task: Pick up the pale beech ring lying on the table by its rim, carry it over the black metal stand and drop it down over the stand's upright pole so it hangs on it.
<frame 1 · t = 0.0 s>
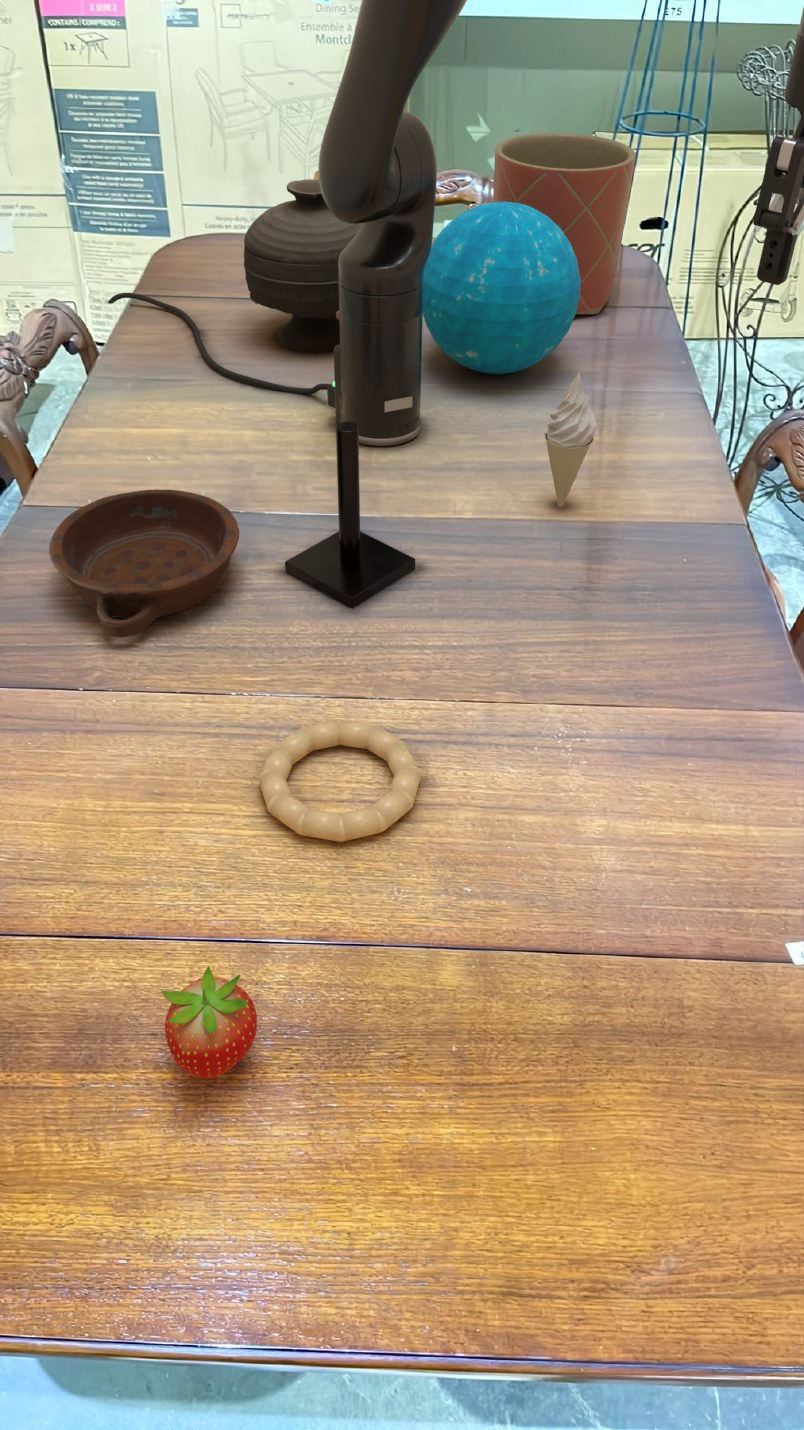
hand: (795, 267, 86), 29 cm above the table, tool pointing down, fingers open, 8 cm apart
ring: (340, 777, 82), point 1 cm above the table
planter: (550, 299, 160), on the table
decorative sphere: (493, 368, 141), on the table
ice cream cone: (560, 507, 115), on the table
post: (350, 570, 105), on the table
pot: (315, 338, 148), on the table
dish: (152, 580, 104), on the table
fruit: (217, 1067, 65), on the table
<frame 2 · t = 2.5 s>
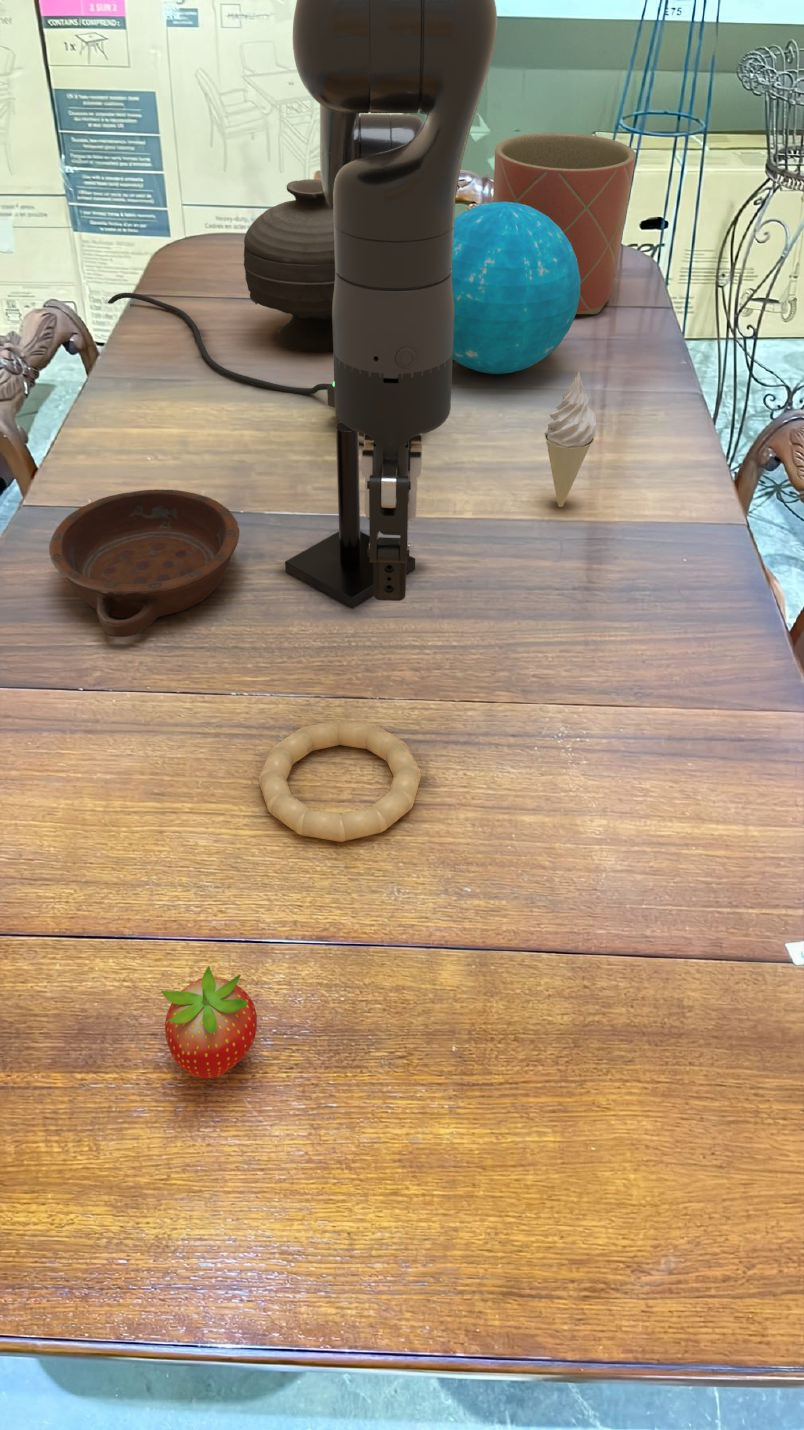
hand: (391, 564, 78), 16 cm above the table, tool pointing down, fingers open, 8 cm apart
nothing on the table moved.
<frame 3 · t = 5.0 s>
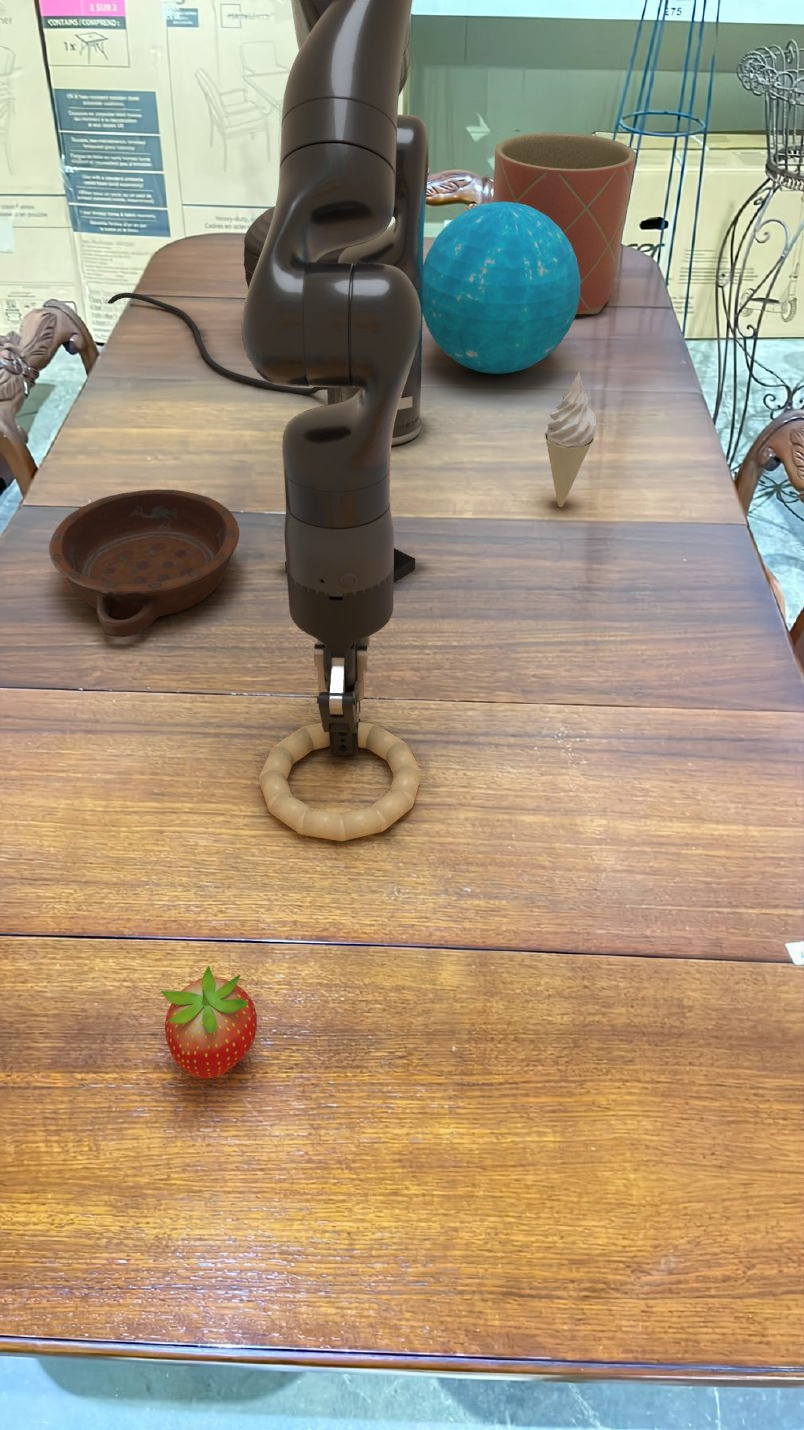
hand: (345, 739, 87), 0 cm above the table, tool pointing down, fingers closed on ring, 2 cm apart
ring: (340, 777, 83), point 1 cm above the table, touching gripper
everything else where it was.
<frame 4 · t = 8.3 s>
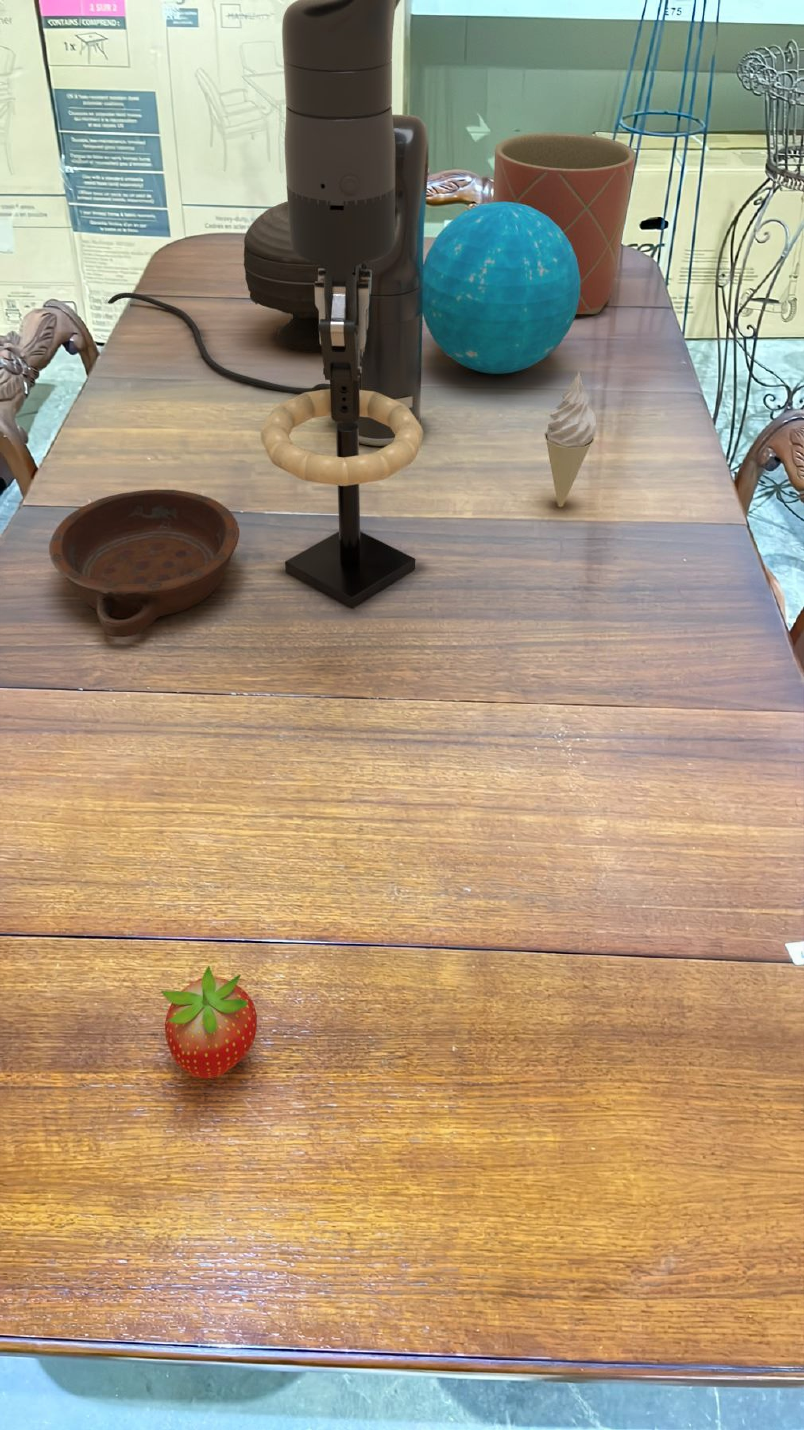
hand: (347, 410, 86), 20 cm above the table, tool pointing down, fingers closed on ring
ring: (342, 434, 82), point 21 cm above the table, touching gripper
everything else where it was.
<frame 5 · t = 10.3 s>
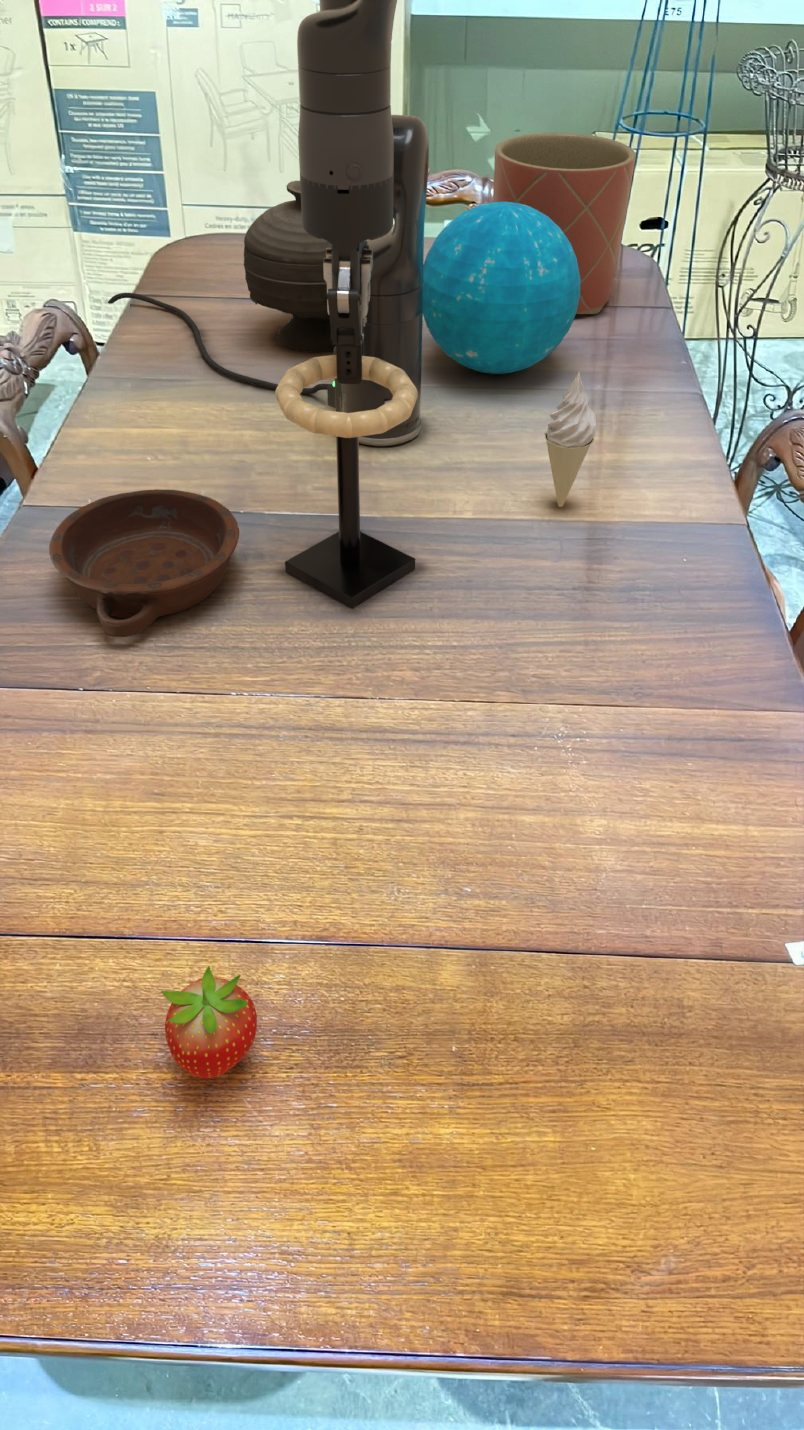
hand: (350, 374, 97), 18 cm above the table, tool pointing down, fingers closed on ring
ring: (346, 394, 93), point 18 cm above the table, touching gripper
everything else where it was.
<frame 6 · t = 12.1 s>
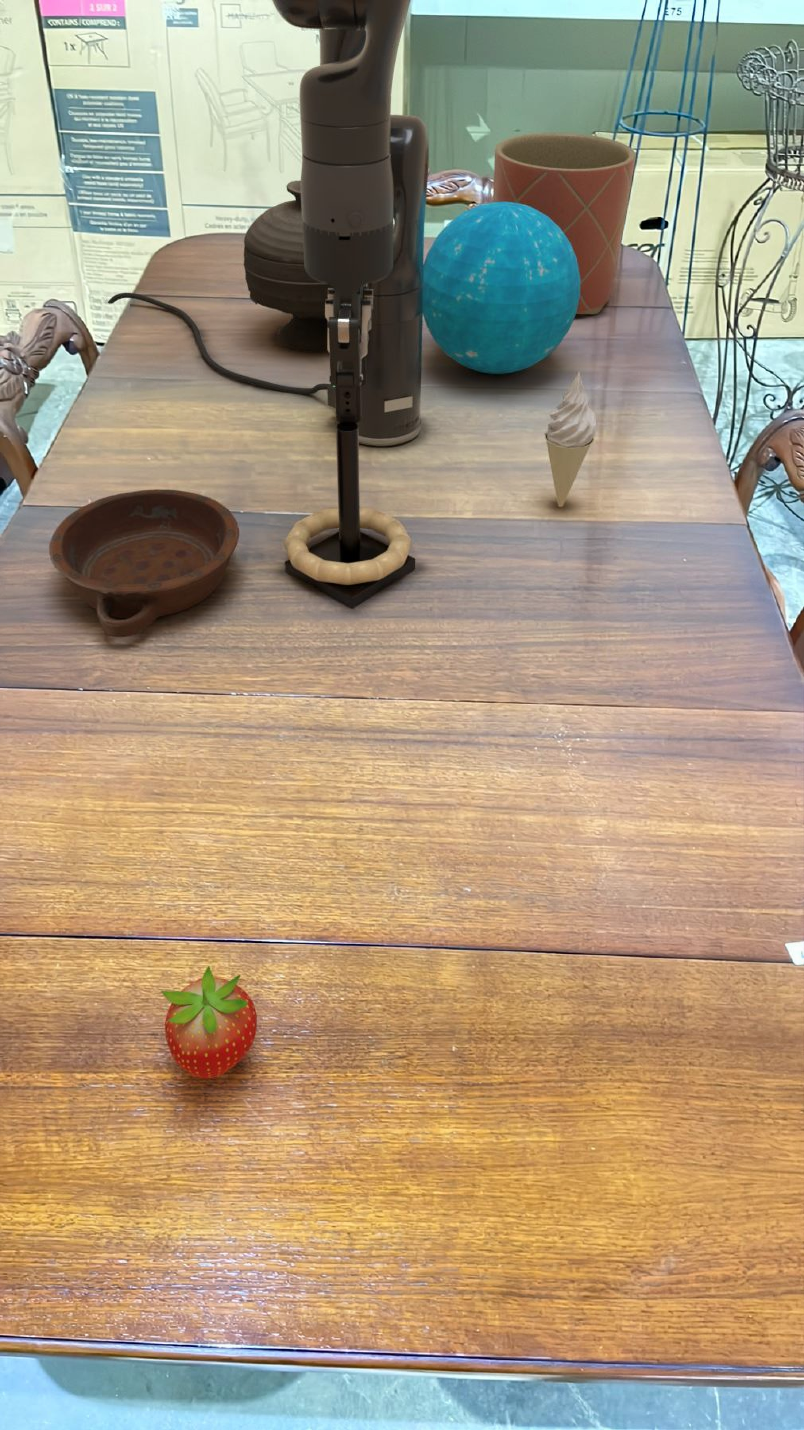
hand: (351, 402, 100), 15 cm above the table, tool pointing down, fingers open, 7 cm apart
ring: (348, 544, 105), point 2 cm above the table, touching post
everything else where it was.
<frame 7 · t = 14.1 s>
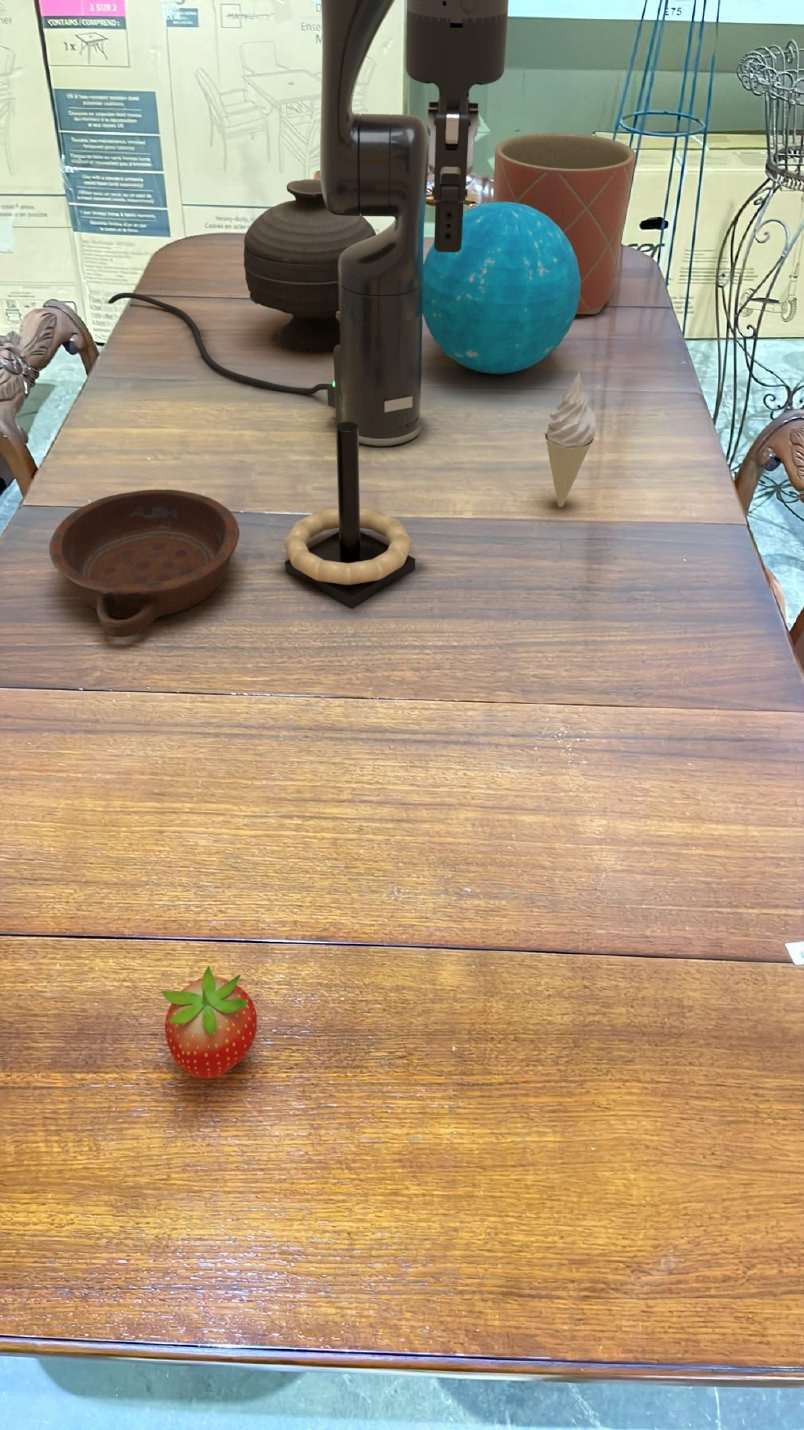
hand: (448, 233, 90), 30 cm above the table, tool pointing down, fingers open, 8 cm apart
nothing on the table moved.
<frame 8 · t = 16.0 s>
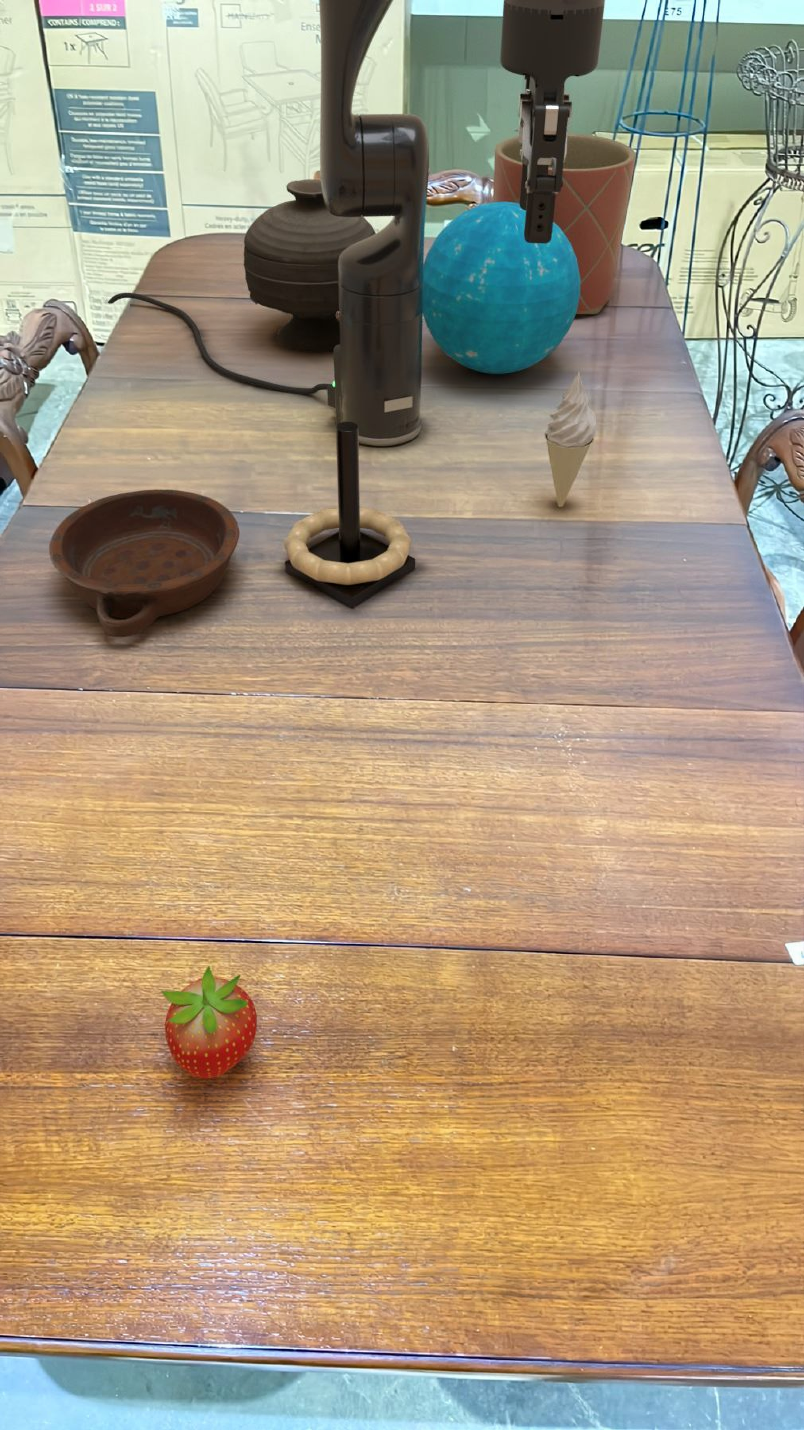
hand: (534, 224, 91), 30 cm above the table, tool pointing down, fingers open, 8 cm apart
nothing on the table moved.
at the end: ring 1.3 cm from the post (horizontally); ring point 2.2 cm above the table; the gripper is holding nothing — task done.
